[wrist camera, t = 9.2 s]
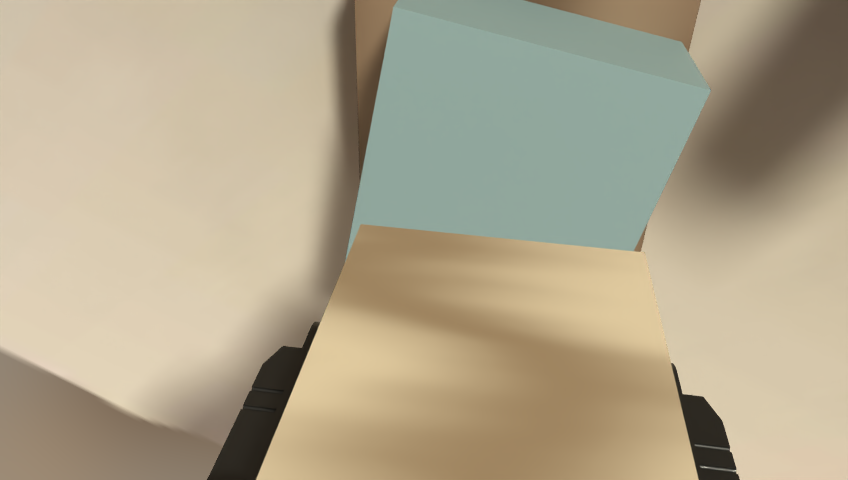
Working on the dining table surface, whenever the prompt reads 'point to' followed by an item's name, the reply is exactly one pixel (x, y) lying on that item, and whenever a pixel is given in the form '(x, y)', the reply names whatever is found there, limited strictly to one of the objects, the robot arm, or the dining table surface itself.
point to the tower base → (614, 3)
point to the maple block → (484, 367)
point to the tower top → (524, 124)
